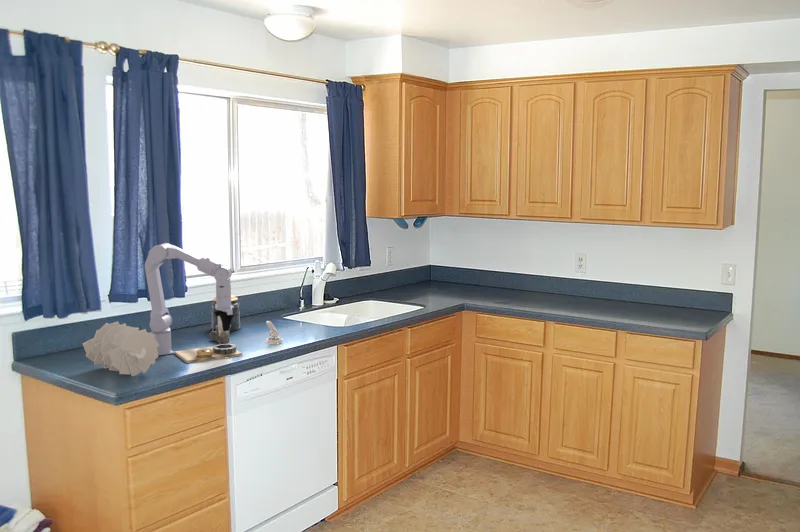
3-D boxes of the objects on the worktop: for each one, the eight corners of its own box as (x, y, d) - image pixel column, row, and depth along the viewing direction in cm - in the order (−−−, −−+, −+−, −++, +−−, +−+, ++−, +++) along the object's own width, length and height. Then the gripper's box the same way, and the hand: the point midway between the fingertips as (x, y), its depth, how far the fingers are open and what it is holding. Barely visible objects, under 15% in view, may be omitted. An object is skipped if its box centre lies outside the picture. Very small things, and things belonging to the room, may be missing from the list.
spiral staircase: (116, 373, 264) (154, 383, 249) (74, 362, 251) (111, 371, 236) (132, 327, 269) (170, 334, 253) (91, 314, 255) (129, 320, 240)
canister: (244, 330, 322) (244, 292, 320) (217, 333, 315) (216, 294, 312) (234, 324, 333) (233, 288, 330) (207, 327, 325) (206, 290, 323)
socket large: (217, 355, 273) (217, 350, 273) (209, 350, 280) (209, 345, 280) (239, 352, 278) (239, 347, 278) (231, 347, 285) (231, 342, 285)
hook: (253, 333, 294) (259, 321, 299) (267, 352, 300) (273, 340, 305) (267, 331, 291) (273, 319, 296) (281, 350, 297) (287, 338, 302)
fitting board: (186, 363, 265) (186, 360, 265) (174, 353, 278) (174, 351, 278) (242, 355, 277) (241, 353, 277) (227, 346, 290) (227, 344, 290)
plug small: (199, 358, 268) (199, 353, 268) (194, 355, 273) (194, 349, 273) (214, 356, 271) (214, 351, 271) (209, 353, 276) (209, 347, 276)
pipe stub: (220, 337, 276) (219, 317, 274) (217, 334, 279) (216, 315, 278) (230, 335, 278) (228, 316, 276) (227, 333, 281) (226, 314, 280)
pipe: (217, 339, 304) (216, 321, 303) (235, 343, 296) (234, 325, 295) (205, 341, 299) (204, 323, 298) (223, 346, 291) (222, 327, 290)
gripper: (239, 298, 272) (240, 331, 274) (226, 292, 284) (227, 325, 286) (222, 299, 269) (223, 334, 270) (210, 294, 281) (210, 326, 282)
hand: (224, 329), depth 278 cm, fingers closed on pipe stub, 4 cm apart
